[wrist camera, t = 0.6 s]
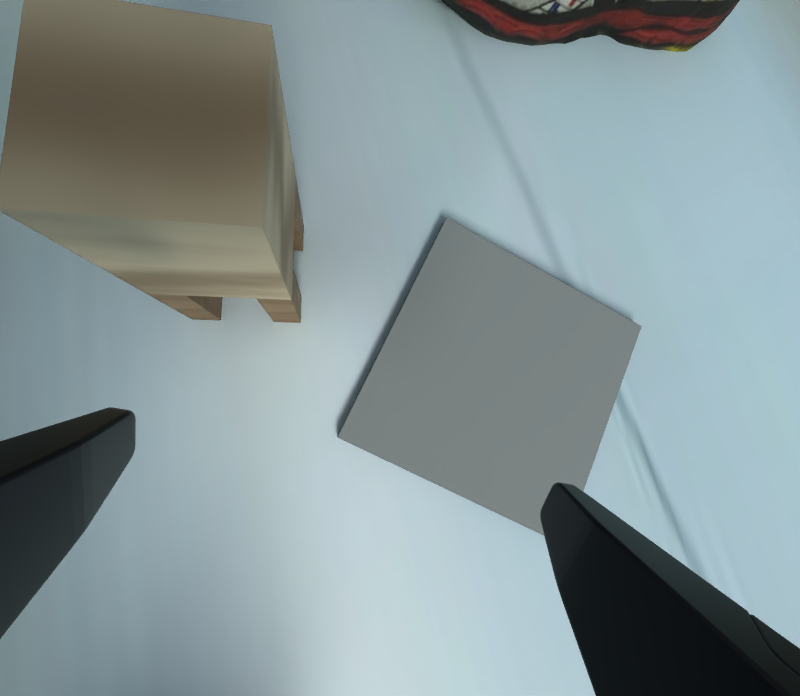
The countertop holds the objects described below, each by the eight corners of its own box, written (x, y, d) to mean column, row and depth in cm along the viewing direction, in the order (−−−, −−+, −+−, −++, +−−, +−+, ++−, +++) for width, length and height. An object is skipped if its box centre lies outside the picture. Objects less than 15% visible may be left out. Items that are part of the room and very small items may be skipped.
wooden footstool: (300, 322, 21) (262, 227, 9) (192, 319, 20) (-6, 208, 8) (303, 227, 22) (271, 25, 10) (198, 219, 21) (25, -15, 9)
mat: (557, 541, 22) (564, 544, 21) (337, 436, 20) (337, 437, 20) (634, 327, 25) (641, 326, 24) (443, 222, 23) (446, 217, 23)
